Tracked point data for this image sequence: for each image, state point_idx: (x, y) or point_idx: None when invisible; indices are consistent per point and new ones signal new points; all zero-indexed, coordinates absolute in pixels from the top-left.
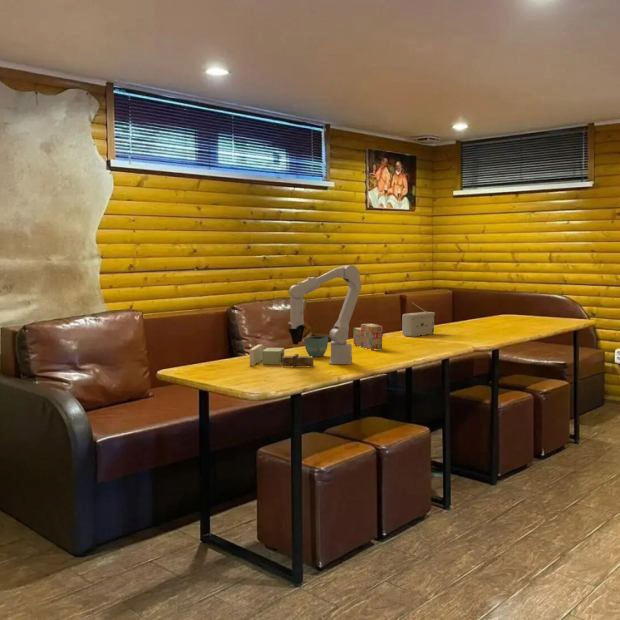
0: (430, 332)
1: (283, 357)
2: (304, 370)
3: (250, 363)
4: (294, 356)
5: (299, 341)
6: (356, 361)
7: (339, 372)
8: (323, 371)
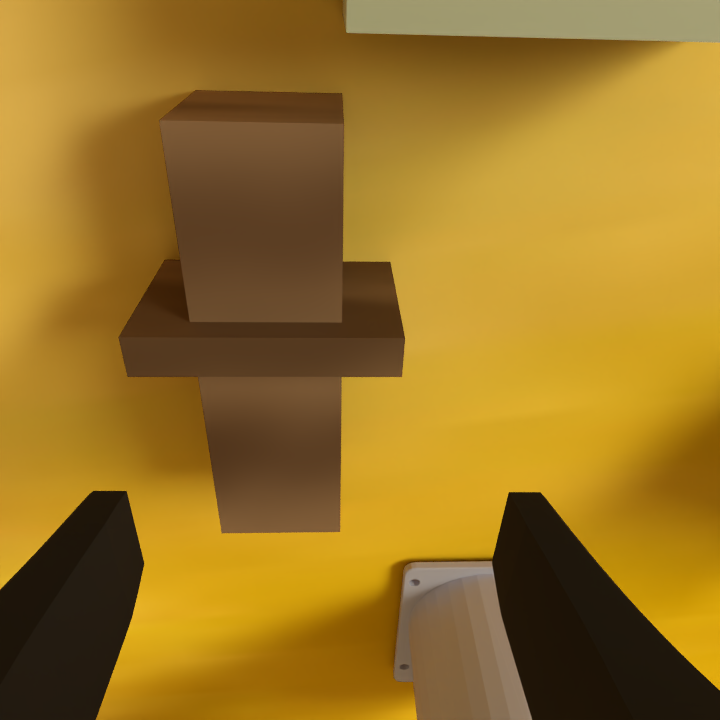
0: None
1: (169, 148)
2: (7, 416)
3: None
4: (125, 364)
5: (502, 546)
6: None
7: None
8: None
